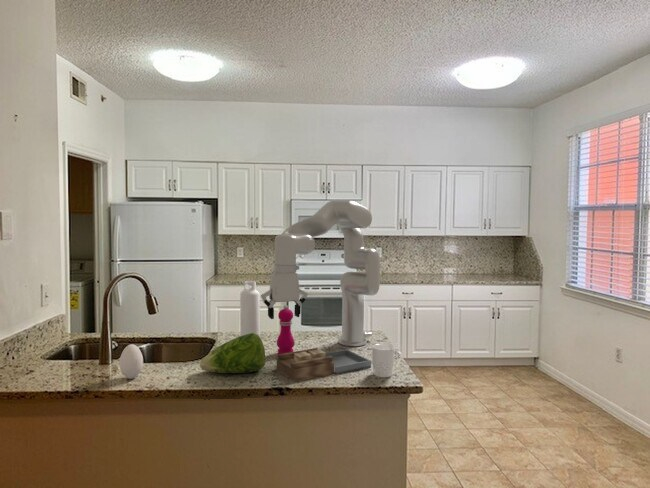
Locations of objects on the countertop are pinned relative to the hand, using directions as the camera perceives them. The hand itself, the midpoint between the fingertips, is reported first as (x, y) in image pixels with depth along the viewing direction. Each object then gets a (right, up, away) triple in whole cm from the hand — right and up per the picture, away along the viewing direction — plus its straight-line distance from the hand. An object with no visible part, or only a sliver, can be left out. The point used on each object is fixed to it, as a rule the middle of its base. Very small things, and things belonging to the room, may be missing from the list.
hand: (284, 317), depth 161 cm
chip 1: (+6, -16, +2) cm, 17 cm away
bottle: (-18, -18, +32) cm, 41 cm away
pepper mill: (-2, -19, +23) cm, 30 cm away
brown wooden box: (+7, -20, +3) cm, 21 cm away
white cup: (+35, -21, +1) cm, 41 cm away
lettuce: (-19, -20, +2) cm, 27 cm away
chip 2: (+12, -16, +5) cm, 20 cm away
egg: (-52, -20, -6) cm, 56 cm away
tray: (+21, -20, +11) cm, 31 cm away
